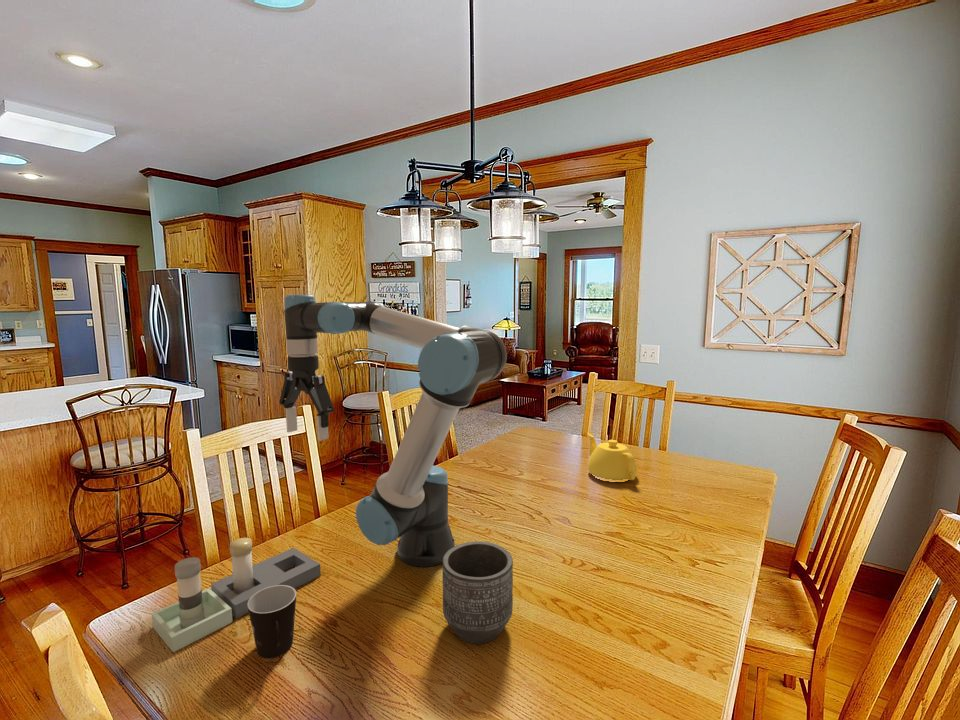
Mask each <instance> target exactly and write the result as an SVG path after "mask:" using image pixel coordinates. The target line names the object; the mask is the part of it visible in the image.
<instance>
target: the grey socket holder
mask: <svg viewBox="0 0 960 720" xmlns="http://www.w3.org/2000/svg"><path fill="white" fill-rule="evenodd" d="M252 541H253V540H252V538H250V537H240V538H237V539H234V540H233V541H231V542H229V553H230V554H229V555H230V556H231V567H232V568H231V569H232V574H231V575H228V576H225V577H224V578H221V579H219V580H216V581H214V582H211V583H210V584H211V585H210V587H211V588H210V589H211V590H212V591H213V592H214V593H215V594H216V595H217V596H218V597H220V598H221V599H222V600H223V601H224V602H225V603H226V604H227V605H228V606H230V607H231V608H232V617H234V618H235V619H238V618H240V617H242V616H245V615H246V614H249V612H248V607H247V603H248V600H249V599H250V598H251V597H252V596H253V595H254V594H255V593H256V592H258V591H260V590H262V589H264V588H267V587H270V586H275V585H287V586H291V587H293V588H294V589H295V590H296V589H297V588H299V587H301V586H303V585H305V584H307V583H309V582H311V581H313V580H314V579H317V578H319V577H321V576H322V575H321V573H322V572H321V563H319V562H317V561H316V560H314V559H313V558H311V557H309V556H308V555H307V554H304V552H301V551H300V550H298V549H297V548H295V547H292V548H289V549H288V550H285V551H283V552H280V553H278V554H276V555H273V556H272V557H269V558H266V559H264V560H262V561H260V562H257V563H256V564H253V556H252V555H253V554H252V553H253V552H252V551H253V542H252ZM293 567H294V568H293Z"/></svg>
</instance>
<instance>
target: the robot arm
mask: <svg viewBox="0 0 960 720" xmlns="http://www.w3.org/2000/svg"><path fill="white" fill-rule="evenodd" d="M283 300H284V303H283V305H284V306H283V307H284V308H283V313H284V314H283V315H284V324H285V337H286V339H285V342H286V354H287V355H288V357H287V358H286V360H287V369H288V371H285V372H284V381H283V385H282V389H281V393H280V398H279V405H280V406H281V405H283V408H284V409H285V411H284V412H285V423H286V432H287V433H292V432H295V431H298V415H297V413H298V412H297V407H296V406H297V404H296V402H297V400H298V398H299V396H300V394H301V392H305V394H307V395H308V396H309V398H310V401H311V402H312V404H313V405H314V408H315V409H316V412H317V414H316V429H317V441H319V442H321V441H324V440H327V439H329V438H330V437H329V436H330V435H329V434H330V433H329V425H330V423H329V414H332V413H334V412H335V409H334V406H333V402H332V400H331V397H330V394H329V390H328V388H327V386H326V382H325V376H324V374H321V375H316V371H317V370H318V369H319V368H320V367H319V366H320V363H319V355H317V353H319V352H318V334H319V333H322V334H331V335H337V334H339V335H340V334H346V333H347V332H348V333H349V332H361V331H364V332H367V333H371V334H374V335H378V336H381V337H384V338H387V339H390V340H393V341H396V342H398V343H399V342H400V343H402V344H404V345H405V344H406V345H408V346H411V347H415V348H417V349H420V350H421V351H420V353H419V357H418V360H417V369H418V370H419V372H418V376H419V381H418V384H419V388H420V389H421V391H422V393H421V394H420V395H421V396H420V398H419V399H418V402H417V405H416V407H415V409H414V411H413V413H412V415H411V419H410V421H409V423H408V425H407V427H406V431H405V432H404V434H403V437H402V439H401V441H400V444H399V446H398V449H397V451H396V453H395V455H394V458H393V459H392V463H391V464H390V467H389V470H388V471H387V472H383V474H381V475H380V476H379V477H378V478H377V480H376V483H375V485H374V486H373V487H374V488H373V490H372V492H371V493H370V494H369V495H367V496H364V497H363V498H362V499H361V500H360V501H359V502H358V503H357V505H356V507H355V520H356V522H357V524H358V528H359V529H360V531H361V533H362V534H363V535H364V536H365V538H366V539H367V540H368V541H369V542H371V543H372V544H374V545H378V546H386V545H389V544H390V543H392V542H396V541H397V540H398V539H399V540H398V542H397V556H398V558H399V560H400V561H401V562H403V563H405V564H406V565H409V566H412V567H423V568H424V567H427V568H428V567H433V566H434V567H435V566H437V565H441V564H443V557H444V555H445V553H446V552H447V551H448V550H450V549H451V548H453V547H455V546H456V541H455V539H454V535H453V534H452V530H451V527H450V524H449V493H448V492H449V481H448V480H449V479H448V473H447V471H446V469H444V468H443V467H440V466H437V465H434V463H435V462H436V461H435V460H436V459H437V457H438V455H439V453H440V451H441V448H442V446H443V444H444V442H445V440H446V438H447V436H448V433H449V432H450V429H451V428H452V425H453V423H454V421H455V419H456V417H457V415H458V412H459V410H460V409H462V408H466V407H468V406H469V405H470V403H471V402H472V399H473V398H474V397H475V396H474V395H475V393H476V391H477V389H478V387H480V385H481V384H484V383H487V382H491V381H492V380H494V379H496V378H498V377H499V375H500V374H501V373H502V372H503V370H504V369H505V367H506V363H507V361H508V353H507V348H506V346H505V343H504V341H503V340H502V339H501V338H500V337H499V335H498V334H496V333H495V332H493V331H490V330H487V329H482V328H478V327H472V326H469V325H462V326H461V327H457V326H454V325H450V324H446V323H442V322H439V321H436V320H432V319H430V318H429V319H428V318H425V317H422V316H419V315H416V314H415V315H414V314H410V313H407V312H404V311H401V310H400V311H399V310H396V309H393V308H389V307H386V306H385V304H383V303H382V302H379V301H378V302H377V301H371V300H368V301H353V302H351V301H349V302H348V301H328V302H327V301H326V302H317V301H316V297H315V295H312V294H288V295H286V296H285V297H284V299H283Z"/></svg>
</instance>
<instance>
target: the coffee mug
mask: <svg viewBox="0 0 960 720" xmlns="http://www.w3.org/2000/svg"><path fill="white" fill-rule="evenodd" d="M296 603H297V590H296V588H295V589H294V588H293V587H291V586H287V585H275V586H270V587H267V588H264V589H262V590H260V591H258V592H256V593H255V594H254V595H253V596H252V597H251V598H250V599H249V600H248V603H247V607H248V616H249V619H250V624H251V629H252V635H253V639H254V643H255V649H256V653H257V655H258V656H259V657H260V658H262V659H274V658H275V659H276V658H278V657H280V656H283V655H284V654H286V653H287V652H289V650H290V649H291V648H292V646H293V643H294V634H295V633H294V631H295V620H296V619H295V617H296V607H297V606H296V605H297V604H296Z"/></svg>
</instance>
